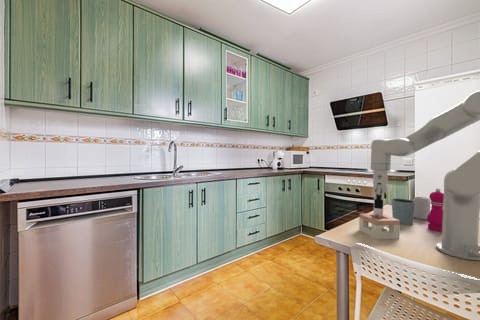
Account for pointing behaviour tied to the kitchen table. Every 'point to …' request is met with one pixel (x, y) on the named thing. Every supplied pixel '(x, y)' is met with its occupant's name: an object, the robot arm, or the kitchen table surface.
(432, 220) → the pepper mill
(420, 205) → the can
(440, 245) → the robot arm
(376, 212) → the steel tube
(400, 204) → the grey teal tapered bin
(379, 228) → the collar stand
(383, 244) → the kitchen table surface
